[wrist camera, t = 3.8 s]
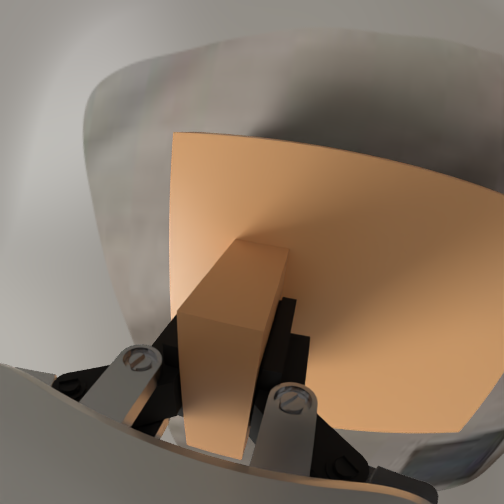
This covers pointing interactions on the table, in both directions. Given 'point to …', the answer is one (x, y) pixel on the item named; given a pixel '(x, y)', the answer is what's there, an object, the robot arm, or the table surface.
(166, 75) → the table surface
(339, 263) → the lid
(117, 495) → the robot arm
